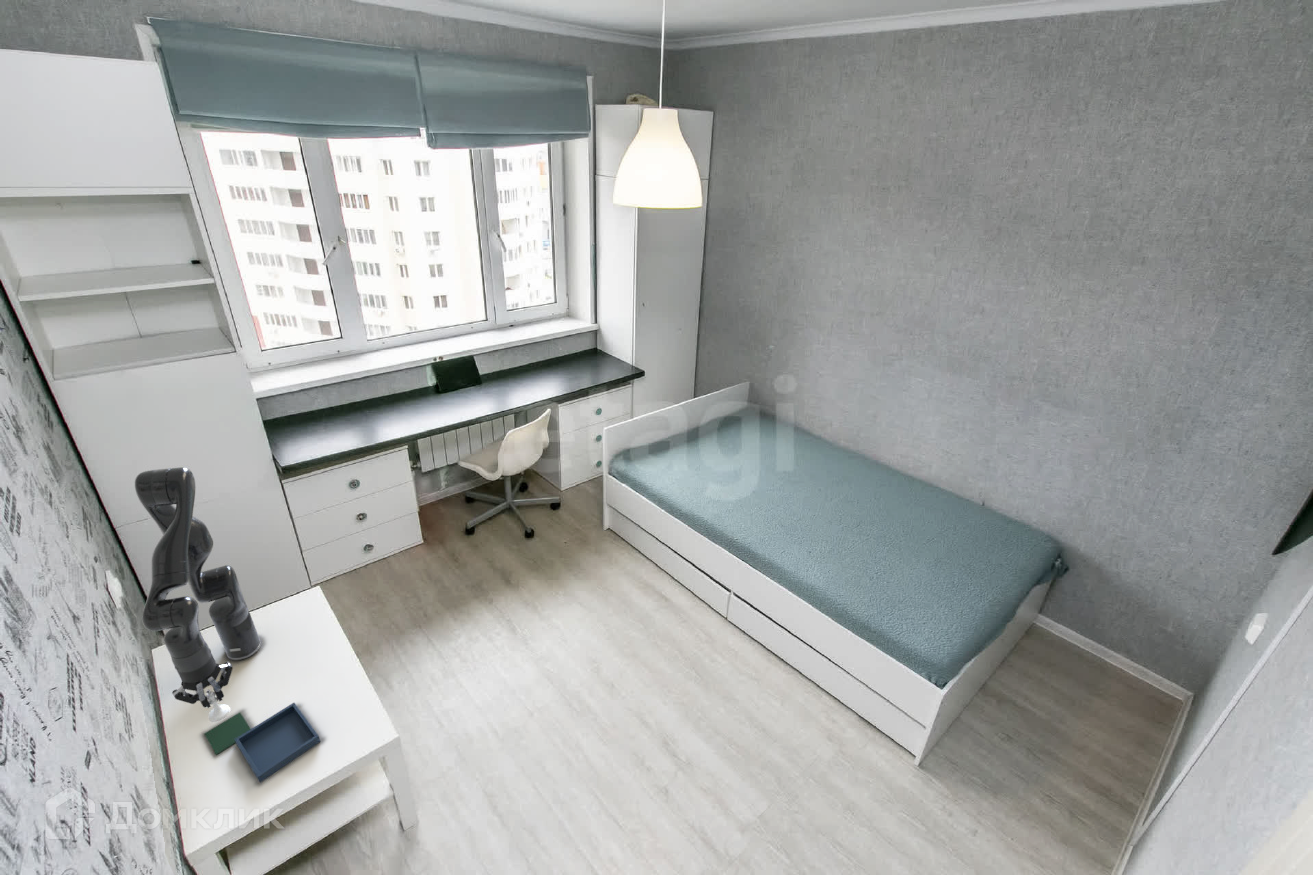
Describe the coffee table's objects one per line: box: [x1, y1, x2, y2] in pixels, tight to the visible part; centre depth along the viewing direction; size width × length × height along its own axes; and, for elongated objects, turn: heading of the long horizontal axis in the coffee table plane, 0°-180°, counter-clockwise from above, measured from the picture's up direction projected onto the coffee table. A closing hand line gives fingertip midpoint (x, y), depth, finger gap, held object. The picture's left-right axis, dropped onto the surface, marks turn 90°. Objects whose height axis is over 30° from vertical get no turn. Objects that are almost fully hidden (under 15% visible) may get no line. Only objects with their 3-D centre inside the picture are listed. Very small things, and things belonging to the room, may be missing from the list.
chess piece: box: [205, 689, 231, 723], centre depth 160 cm, size 5×5×10 cm
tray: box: [234, 702, 321, 783], centre depth 165 cm, size 16×16×2 cm
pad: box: [203, 712, 251, 756], centre depth 167 cm, size 9×9×1 cm
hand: (213, 701), depth 160 cm, fingers closed on chess piece
